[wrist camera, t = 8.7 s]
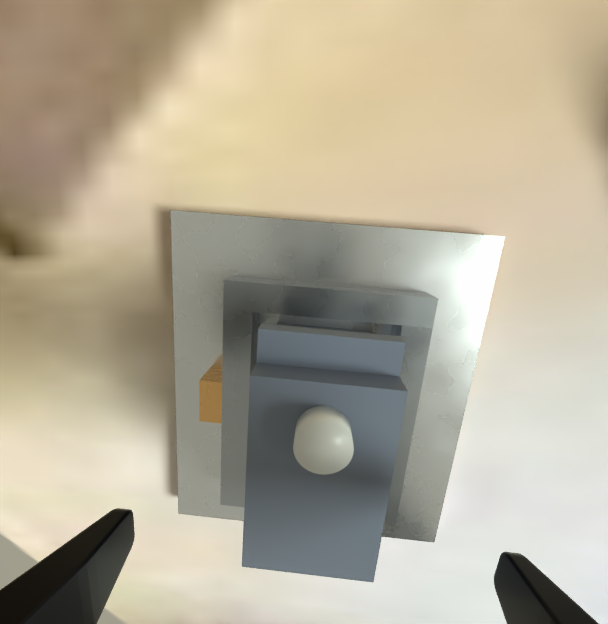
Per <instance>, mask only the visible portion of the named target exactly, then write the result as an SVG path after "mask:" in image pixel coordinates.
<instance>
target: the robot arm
mask: <svg viewBox="0 0 608 624" xmlns="http://www.w3.org/2000/svg"><path fill="white" fill-rule="evenodd" d="M134 535H135V534H134V520H133V512H132V511H131V510H128V509H119V508H118V509H114V510H112V511H110V512H109V513H107V514H106V515H105V516H103V517H102V518H100V519H99V520H98V521H96V522H95V523H93V524H92V525H91V526H89V527H88V528H86V529H85V530H84V531H82V532H81V533H79V534H78V535H77V536H75V537H74V538H72V539H71V540H70V541H68V542H67V543H65V544H64V545H63V546H61V547H60V548H58V549H57V550H56V551H54V552H53V553H51V554H50V555H49V556H47V557H46V558H44V559H43V560H42V561H40V562H39V563H37V564H36V565H35V566H33V567H32V568H30V569H29V570H28V571H26V572H25V573H24V574H22V575H21V576H19V577H18V578H16V579H15V580H14V581H12V582H11V583H9V584H8V585H7V586H5V587H4V588H2V589H1V590H0V624H97V622H98V619H99V617H100V615H101V613H102V611H103V609H104V607H105V605H106V602H107V600H108V598H109V596H110V594H111V591H112V589H113V587H114V585H115V583H116V580H117V578H118V576H119V574H120V572H121V570H122V567H123V565H124V563H125V561H126V559H127V556H128V554H129V552H130V550H131V548H132V545H133V542H134ZM494 585H495V589H496V592H497V595H498V598H499V601H500V604H501V607H502V610H503V613H504V616H505V619H506V622H507V624H598V623H597V622H596V621H595V620H594V619H593V618H592V617H591V616H590V615H589V614H587V613H586V612H585V611H584V610H583V609H582V608H581V607H580V606H579V605H578V604H576V603H575V602H574V601H573V600H572V599H571V598H570V597H569V596H568V595H567V594H565V593H564V592H563V591H562V590H561V589H560V588H559V587H558V586H557V585H556V584H554V583H553V582H552V581H551V580H550V579H549V578H548V577H547V576H546V575H545V574H543V573H542V572H541V571H540V570H539V569H538V568H537V567H536V566H535V565H534V564H532V563H531V562H530V561H529V560H528V559H527V558H526V557H524V556H523V555H521V554H519V553H511V552H503V553H502V554H501V556H500V559H499V562H498V565H497V569H496V572H495V575H494Z"/></svg>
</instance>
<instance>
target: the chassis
mask: <svg viewBox="0 0 608 624" xmlns="http://www.w3.org/2000/svg"><path fill="white" fill-rule="evenodd" d="M504 239H505V237H503V236H491V235H478V234H465V233H453V232H440V231H427V230H415V229H402V228H390V227H377V226H364V225H352V224H339V223H326V222H314V221H301V220H289V219H276V218H263V217H251V216H238V215H225V214H213V213H200V212H188V211H175V210H171V247H172V285H173V323H174V361H175V399H176V437H177V475H178V513H179V514H186V515H195V516H204V517H213V518H222V519H231V520H240V521H244V506H245V482H246V459H247V435H248V412H249V388H250V375H251V373H252V371H253V369H254V367H255V365H256V363H257V344H258V328H259V327H260V325H261V324H262V323H264V324H275V325H276V324H277V322H278V323H288V324H299V325H310V326H320V327H331V328H342V329H352V330H363V331H374V333H375V334H381V335H392V336H401V338H402V339H403V340H404V341H405V349H404V354H403V360H402V366H401V372H400V378H401V380H402V382H403V383H404V385H405V387H406V389H407V390H408V394H407V399H406V405H405V410H404V416H403V421H402V427H401V432H400V438H399V443H398V449H397V454H396V460H395V465H394V471H393V476H392V482H391V487H390V493H389V498H388V504H387V509H386V515H385V520H384V526H383V531H382V537H391V538H400V539H409V540H418V541H427V542H434V541H435V537H436V532H437V528H438V524H439V520H440V515H441V511H442V507H443V502H444V498H445V494H446V489H447V485H448V481H449V476H450V472H451V468H452V463H453V459H454V455H455V450H456V446H457V442H458V437H459V433H460V429H461V425H462V420H463V416H464V412H465V407H466V403H467V399H468V394H469V390H470V386H471V381H472V377H473V373H474V368H475V364H476V360H477V355H478V351H479V347H480V342H481V338H482V334H483V329H484V325H485V321H486V317H487V312H488V308H489V304H490V299H491V295H492V291H493V286H494V282H495V278H496V273H497V269H498V265H499V260H500V256H501V252H502V247H503V243H504Z"/></svg>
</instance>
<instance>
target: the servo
mask: <svg viewBox="0 0 608 624" xmlns="http://www.w3.org/2000/svg"><path fill="white" fill-rule="evenodd" d="M404 349H405V341H404V340H403V339H402V338H401V336H392V335H381V334H375V333H374V331H363V330H352V329H342V328H331V327H320V326H310V325H299V324H288V323H278V322H277V324H276V325H275V324H264V323H262V324H261V325H260V327H259V328H258V344H257V363H256V365H255V367H254V369H253V371H252V373H251V375H250V388H249V412H248V435H247V459H246V482H245V506H244V530H243V553H242V567H250V568H258V569H267V570H275V571H283V572H292V573H300V574H308V575H317V576H325V577H333V578H342V579H350V580H358V581H367V582H373V581H374V575H375V570H376V564H377V559H378V553H379V548H380V542H381V537H382V531H383V526H384V520H385V515H386V509H387V504H388V498H389V493H390V487H391V482H392V476H393V471H394V465H395V460H396V454H397V449H398V443H399V438H400V432H401V427H402V421H403V416H404V410H405V405H406V399H407V394H408V390H407V389H406V387H405V385H404V383H403V382H402V380H401V378H400V372H401V366H402V360H403V354H404Z"/></svg>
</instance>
